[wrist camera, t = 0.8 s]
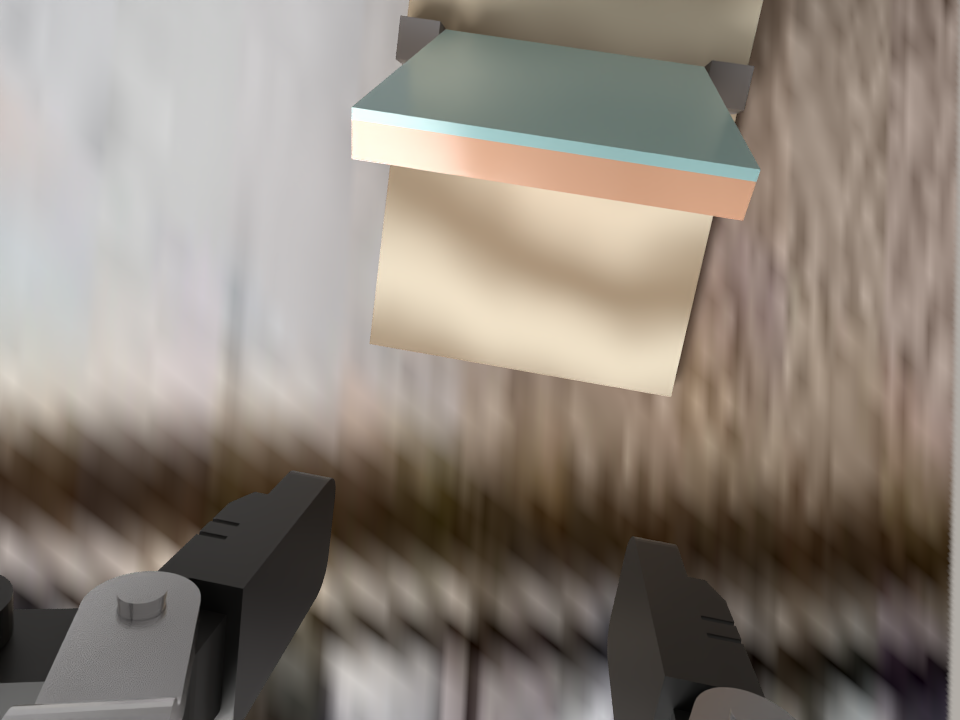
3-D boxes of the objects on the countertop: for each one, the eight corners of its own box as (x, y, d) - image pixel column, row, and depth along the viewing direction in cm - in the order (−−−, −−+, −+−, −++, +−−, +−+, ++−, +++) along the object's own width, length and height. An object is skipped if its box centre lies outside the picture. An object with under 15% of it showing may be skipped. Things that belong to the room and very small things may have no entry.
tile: (449, 58, 29) (451, 24, 28) (691, 94, 28) (700, 59, 28) (351, 158, 18) (351, 107, 17) (742, 220, 17) (760, 169, 17)
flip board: (452, -307, 27) (440, -362, 24) (818, -267, 26) (848, -319, 23) (376, 338, 34) (360, 351, 31) (666, 389, 33) (676, 407, 30)
